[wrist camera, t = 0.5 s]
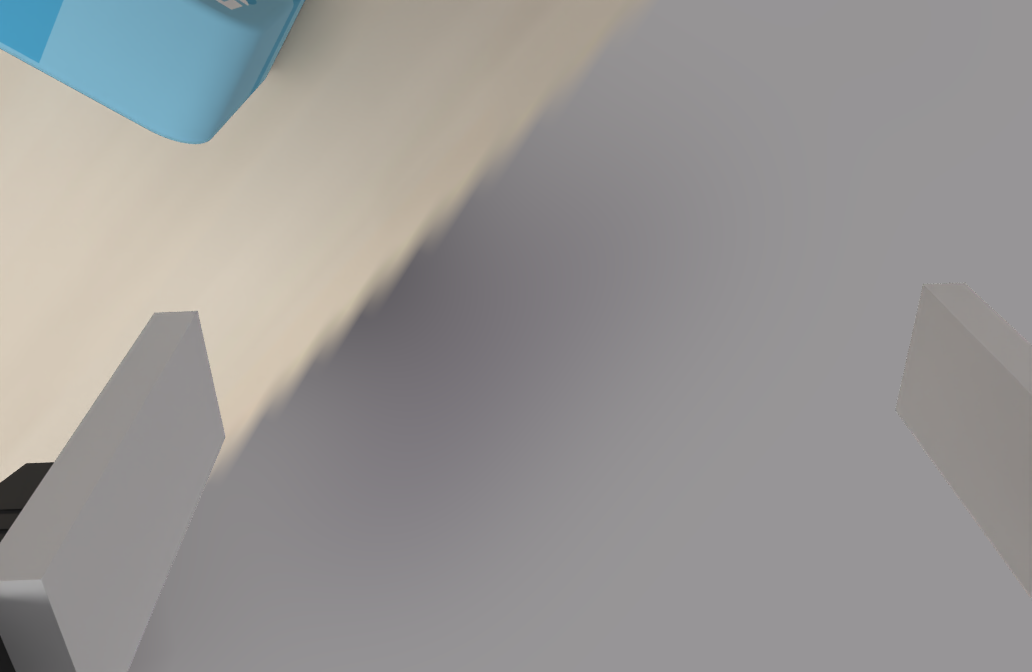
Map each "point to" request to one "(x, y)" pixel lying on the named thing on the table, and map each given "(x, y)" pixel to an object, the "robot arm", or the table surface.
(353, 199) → the table surface
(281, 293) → the table surface
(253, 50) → the data package
